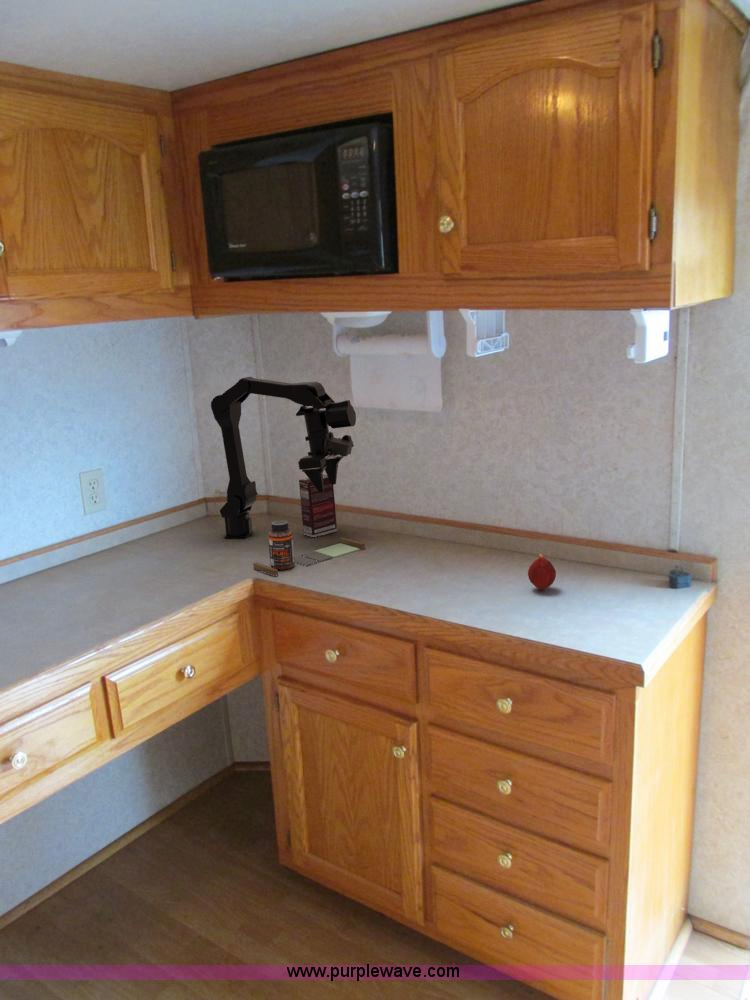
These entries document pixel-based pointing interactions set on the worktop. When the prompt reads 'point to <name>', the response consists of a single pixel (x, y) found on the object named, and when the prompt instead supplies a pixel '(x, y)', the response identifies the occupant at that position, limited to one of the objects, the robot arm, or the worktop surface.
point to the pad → (337, 550)
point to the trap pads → (310, 558)
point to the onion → (541, 573)
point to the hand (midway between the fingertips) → (327, 488)
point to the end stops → (275, 571)
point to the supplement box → (317, 508)
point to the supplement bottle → (281, 546)
